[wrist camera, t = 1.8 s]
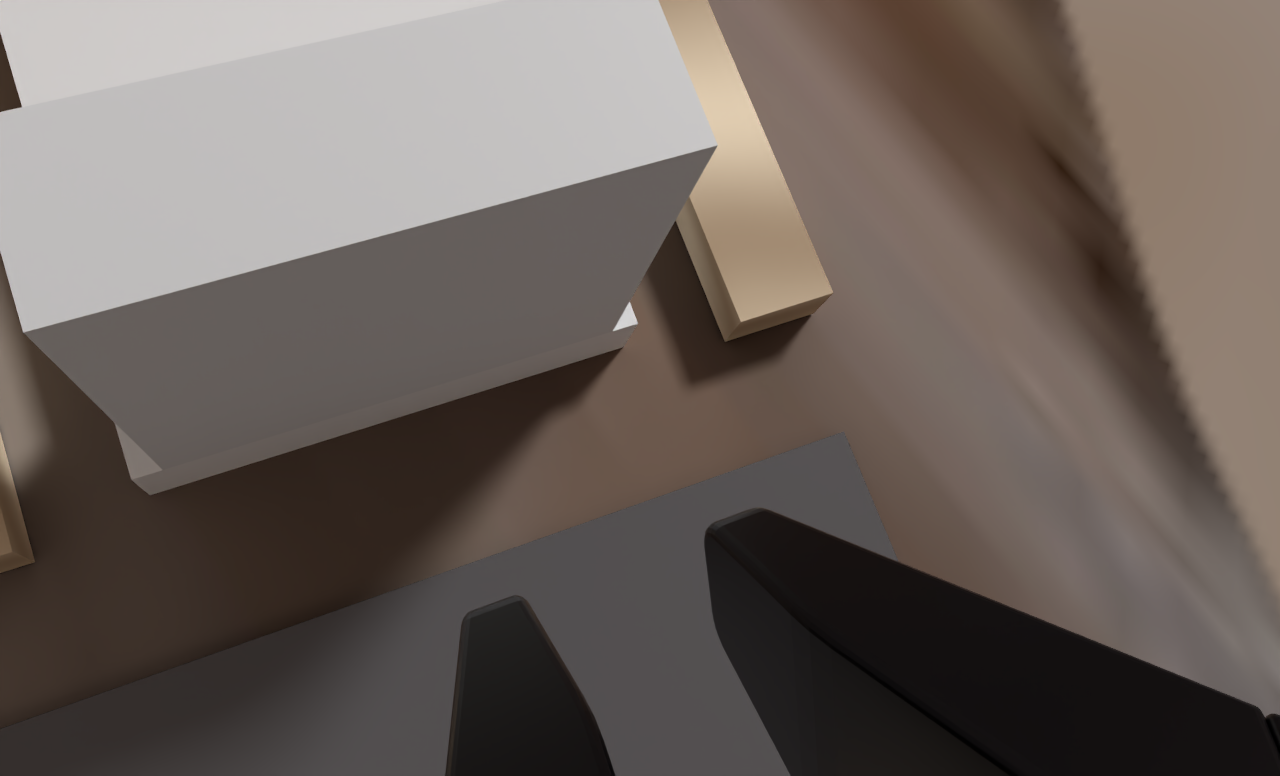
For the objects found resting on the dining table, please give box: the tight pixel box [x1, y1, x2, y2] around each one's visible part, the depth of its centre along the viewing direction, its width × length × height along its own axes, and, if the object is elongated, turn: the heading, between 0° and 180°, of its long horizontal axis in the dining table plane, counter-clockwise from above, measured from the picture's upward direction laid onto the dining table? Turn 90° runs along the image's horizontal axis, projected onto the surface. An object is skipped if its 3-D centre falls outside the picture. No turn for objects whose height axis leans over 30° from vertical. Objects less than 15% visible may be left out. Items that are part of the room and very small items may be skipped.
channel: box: [0, 0, 833, 573], centre depth 22 cm, size 14×17×1 cm
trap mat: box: [0, 432, 898, 776], centre depth 20 cm, size 7×16×1 cm, turn 111°
